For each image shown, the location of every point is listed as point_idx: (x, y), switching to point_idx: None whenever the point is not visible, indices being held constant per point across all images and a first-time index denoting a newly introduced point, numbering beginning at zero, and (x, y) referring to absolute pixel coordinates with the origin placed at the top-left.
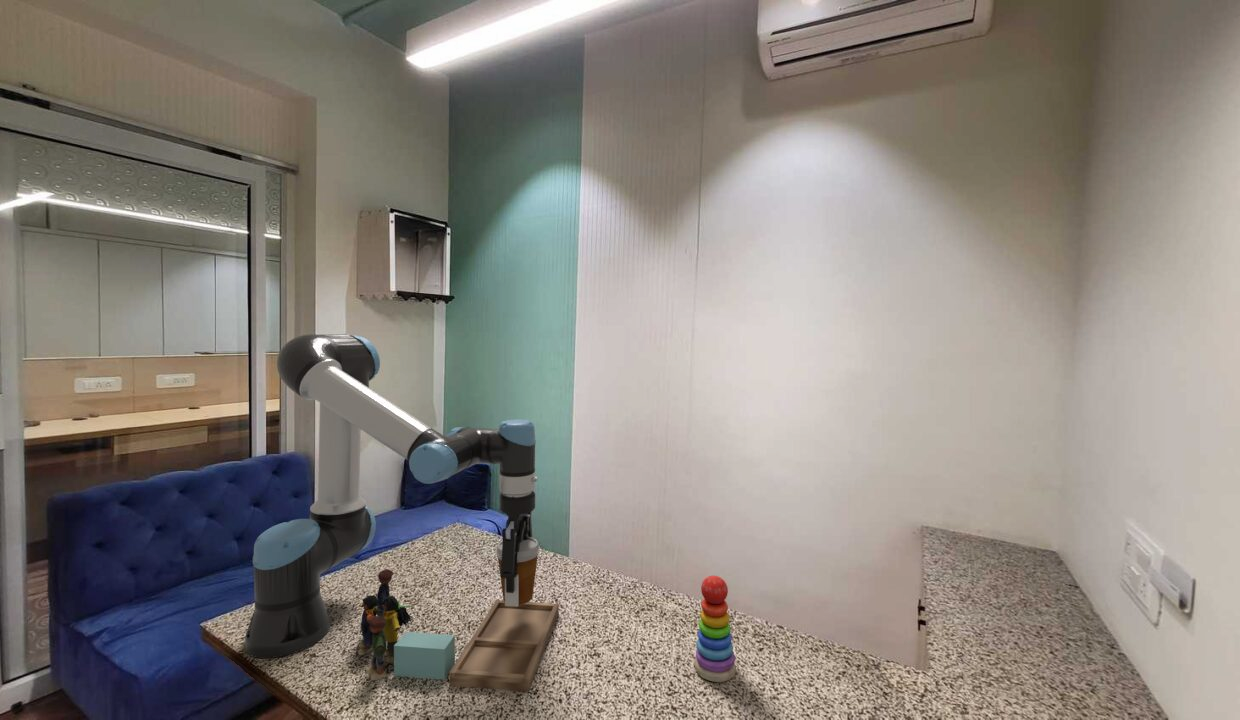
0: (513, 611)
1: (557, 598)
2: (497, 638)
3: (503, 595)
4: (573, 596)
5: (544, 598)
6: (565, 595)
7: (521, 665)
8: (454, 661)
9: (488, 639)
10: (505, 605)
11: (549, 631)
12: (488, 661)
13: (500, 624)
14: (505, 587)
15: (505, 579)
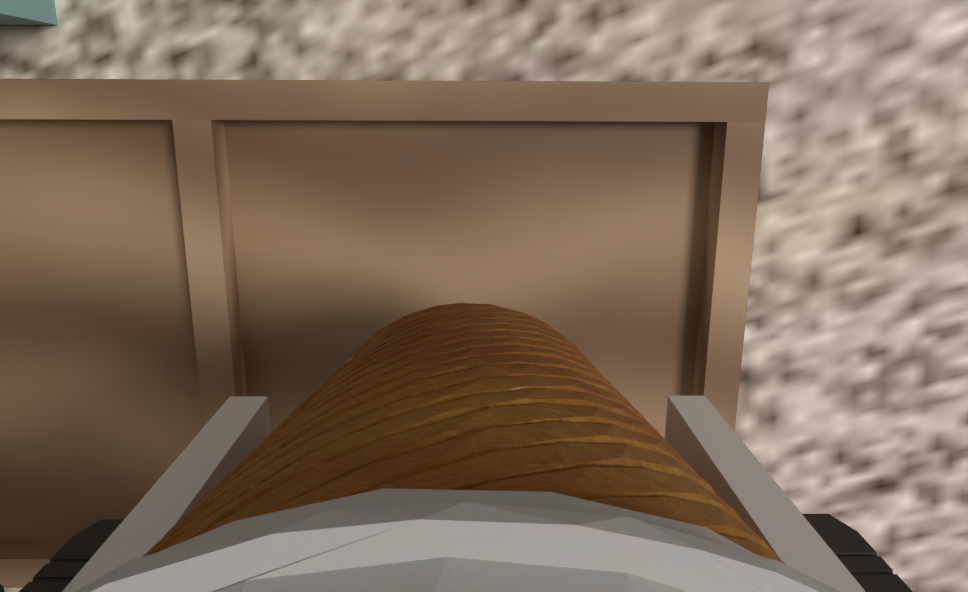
0: (649, 262)
1: (902, 488)
2: (289, 256)
3: (361, 348)
4: (925, 583)
5: (906, 401)
6: (942, 531)
7: (55, 491)
8: (40, 22)
9: (200, 220)
10: (231, 402)
11: None
12: (38, 281)
13: (464, 219)
14: (144, 507)
15: (81, 582)
